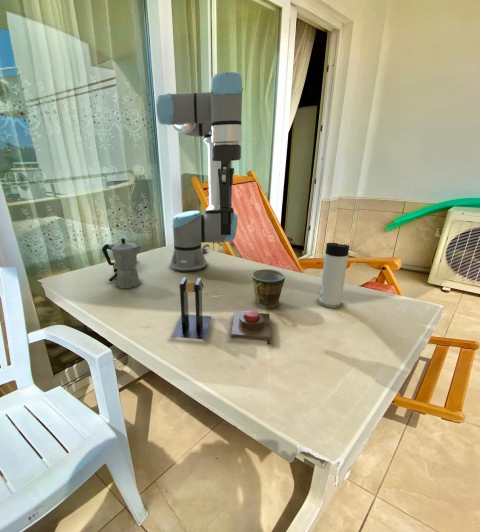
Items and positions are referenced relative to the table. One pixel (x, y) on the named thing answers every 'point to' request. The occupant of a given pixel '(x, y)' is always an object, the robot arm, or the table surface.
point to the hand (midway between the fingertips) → (225, 234)
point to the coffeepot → (124, 263)
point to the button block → (251, 327)
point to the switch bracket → (188, 323)
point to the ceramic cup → (267, 286)
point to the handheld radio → (115, 271)
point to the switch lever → (191, 287)
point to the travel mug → (333, 274)
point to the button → (251, 315)
